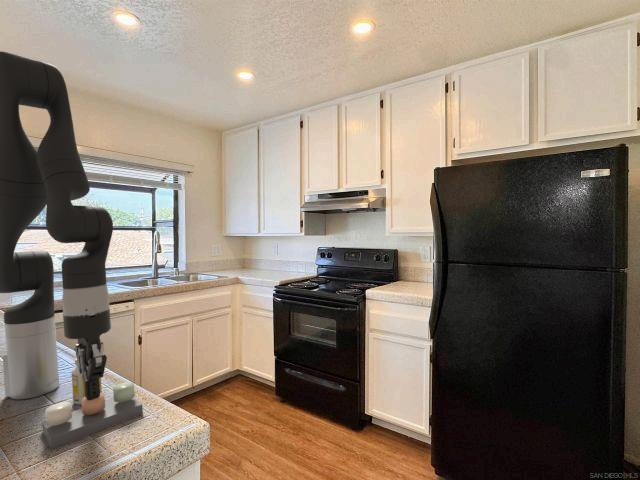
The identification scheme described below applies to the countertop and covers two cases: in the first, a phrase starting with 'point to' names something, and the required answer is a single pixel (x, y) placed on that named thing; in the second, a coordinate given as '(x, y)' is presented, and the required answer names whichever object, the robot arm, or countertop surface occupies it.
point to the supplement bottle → (79, 384)
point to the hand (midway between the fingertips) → (92, 397)
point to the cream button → (58, 413)
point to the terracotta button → (93, 405)
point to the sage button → (124, 392)
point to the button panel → (91, 422)
